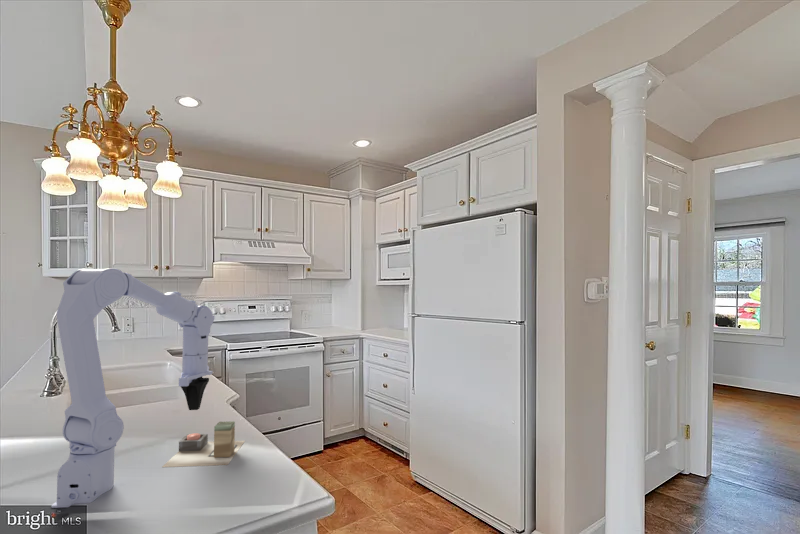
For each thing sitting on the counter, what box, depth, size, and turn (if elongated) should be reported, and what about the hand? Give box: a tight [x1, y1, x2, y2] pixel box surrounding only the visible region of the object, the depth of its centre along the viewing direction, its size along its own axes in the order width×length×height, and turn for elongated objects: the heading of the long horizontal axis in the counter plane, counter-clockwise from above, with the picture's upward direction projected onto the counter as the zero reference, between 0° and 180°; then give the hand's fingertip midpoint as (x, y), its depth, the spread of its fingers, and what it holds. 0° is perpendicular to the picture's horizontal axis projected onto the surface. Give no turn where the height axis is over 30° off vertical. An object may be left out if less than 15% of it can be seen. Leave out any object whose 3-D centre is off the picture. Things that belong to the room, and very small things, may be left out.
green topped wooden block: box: [213, 420, 236, 457], centre depth 103 cm, size 4×4×7 cm
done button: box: [186, 432, 201, 440], centre depth 108 cm, size 3×3×3 cm
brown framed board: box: [161, 433, 246, 468], centre depth 104 cm, size 18×16×3 cm
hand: (194, 409), depth 108 cm, fingers closed
